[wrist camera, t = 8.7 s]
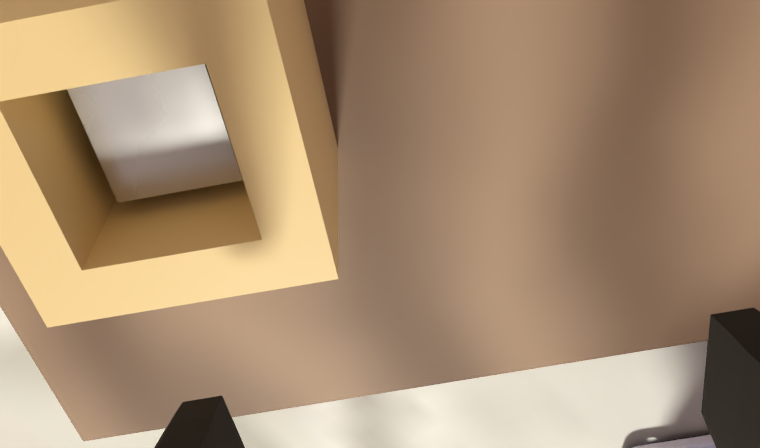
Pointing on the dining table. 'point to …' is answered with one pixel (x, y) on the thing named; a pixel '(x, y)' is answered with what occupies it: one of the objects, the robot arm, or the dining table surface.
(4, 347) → the dining table surface
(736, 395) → the robot arm
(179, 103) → the square post
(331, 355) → the board
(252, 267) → the square hole block
